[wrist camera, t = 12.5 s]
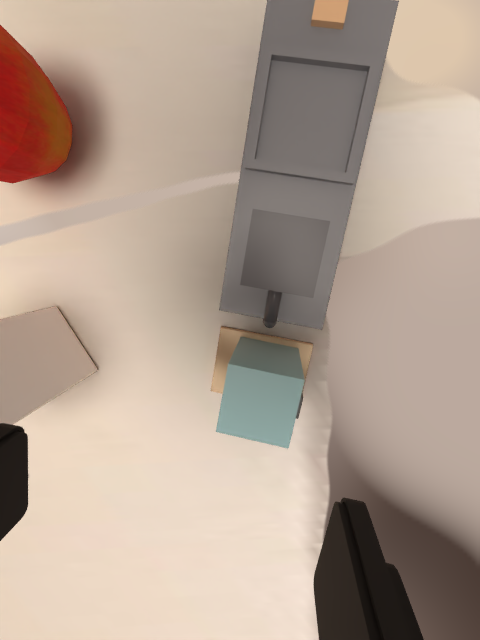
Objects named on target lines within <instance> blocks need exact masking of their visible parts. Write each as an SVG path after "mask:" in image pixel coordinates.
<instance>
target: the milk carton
mask: <svg viewBox="0 0 480 640" xmlns="http://www.w3.org/2000/svg"><path fill="white" fill-rule="evenodd" d="M96 371H97V368H96V366H95V365H94V363H93V362H92V360H91V358H90V357H89V355H88V354H87V352H86V351H85V349H84V348H83V346H82V345H81V343H80V342H79V340H78V338H77V337H76V335H75V334H74V332H73V331H72V329H71V328H70V326H69V325H68V323H67V322H66V320H65V318H64V317H63V315H62V314H61V312H60V311H59V309H58V308H57V307H56V306H54V307H50V308H46V309H41V310H37V311H33V312H29V313H24V314H20V315H16V316H12V317H7V318H3V319H0V423H6V424H11V425H13V424H15V423H16V422H18V421H19V420H21V419H23V418H24V417H26V416H27V415H29V414H30V413H32V412H33V411H35V410H37V409H38V408H40V407H41V406H43V405H44V404H46V403H47V402H49V401H51V400H52V399H54V398H55V397H57V396H58V395H60V394H62V393H63V392H65V391H66V390H68V389H69V388H71V387H72V386H74V385H76V384H77V383H79V382H80V381H82V380H83V379H85V378H86V377H88V376H90V375H91V374H93V373H94V372H96Z"/></svg>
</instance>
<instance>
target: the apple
mask: <svg viewBox="0 0 480 640" xmlns="http://www.w3.org/2000/svg"><path fill="white" fill-rule="evenodd" d="M71 144H72V123H71V120H70V117H69V114H68V111H67V108H66V106H65V105H64V103H63V101H62V100H61V98H60V96H59V95H58V93H57V92H56V90H55V88H54V87H53V85H52V83H51V82H50V80H49V79H48V77H47V76H46V75H45V73H44V72H43V71H42V69H41V68H40V66H39V65H38V64H37V62H36V61H35V59H34V58H33V57H32V56H31V55H30V54H29V53H28V52H27V51H26V50H25V49H24V48H23V47H22V46H21V45H20V44H19V43H18V42H17V41H16V40H15V39H14V38H13V37H12V36H11V35H10V34H9V33H8V32H7V31H6V30H5V29H4V28H3V27H2V26H1V25H0V181H3V182H8V183H16V182H20V181H23V180H27V179H31V178H34V177H38V176H41V175H45V174H48V173H51V172H54V171H56V170H57V169H58V168H59V167H60V166H61V165H62V164H63V163H64V162H65V161H66V160H67V157H68V153H69V150H70V147H71Z"/></svg>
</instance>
